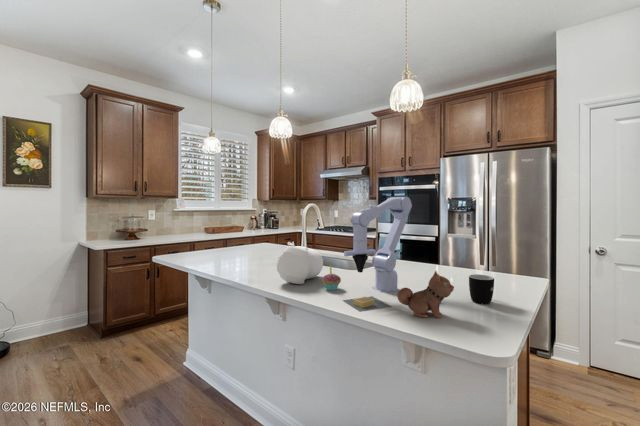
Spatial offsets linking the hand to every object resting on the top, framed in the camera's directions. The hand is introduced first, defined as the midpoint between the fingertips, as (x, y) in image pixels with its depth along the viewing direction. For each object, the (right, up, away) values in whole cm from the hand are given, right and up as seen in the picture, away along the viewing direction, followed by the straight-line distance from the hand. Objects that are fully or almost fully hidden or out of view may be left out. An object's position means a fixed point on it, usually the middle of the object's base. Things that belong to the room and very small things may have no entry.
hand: (360, 271), depth 135 cm
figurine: (+20, -11, -23) cm, 32 cm away
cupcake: (-12, -10, +8) cm, 18 cm away
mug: (+48, -10, -8) cm, 50 cm away
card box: (+2, -9, -12) cm, 15 cm away
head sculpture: (-28, -9, +27) cm, 40 cm away
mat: (+1, -10, -12) cm, 16 cm away
